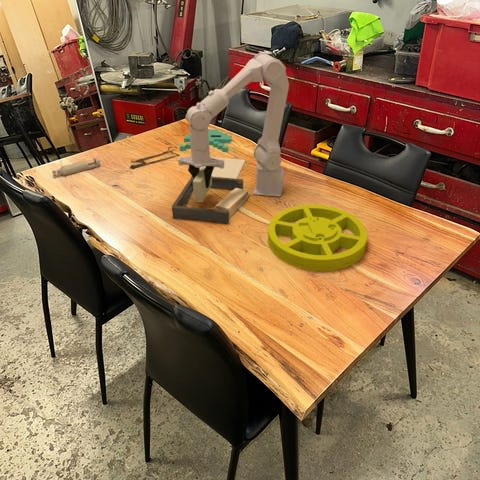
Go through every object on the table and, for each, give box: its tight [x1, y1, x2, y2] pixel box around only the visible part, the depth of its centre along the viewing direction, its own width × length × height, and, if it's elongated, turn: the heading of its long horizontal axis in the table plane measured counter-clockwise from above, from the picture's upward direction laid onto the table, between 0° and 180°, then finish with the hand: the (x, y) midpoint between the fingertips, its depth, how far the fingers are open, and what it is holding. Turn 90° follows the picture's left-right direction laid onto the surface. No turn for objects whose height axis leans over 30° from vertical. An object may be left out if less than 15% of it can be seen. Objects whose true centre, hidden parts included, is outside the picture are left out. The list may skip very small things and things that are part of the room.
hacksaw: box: [129, 146, 181, 170], centre depth 174 cm, size 24×10×2 cm, turn 125°
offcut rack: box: [171, 176, 244, 225], centre depth 143 cm, size 18×22×4 cm
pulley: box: [267, 204, 368, 272], centre depth 124 cm, size 28×28×5 cm
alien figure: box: [179, 128, 233, 153], centre depth 186 cm, size 20×2×20 cm
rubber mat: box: [200, 156, 247, 179], centre depth 164 cm, size 16×20×1 cm
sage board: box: [193, 166, 212, 203], centre depth 140 cm, size 2×12×7 cm, turn 168°
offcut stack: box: [215, 188, 251, 219], centre depth 142 cm, size 6×16×4 cm, turn 154°
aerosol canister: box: [51, 157, 101, 178], centre depth 164 cm, size 18×5×7 cm, turn 125°
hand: (203, 186), depth 141 cm, fingers closed on sage board, 2 cm apart
